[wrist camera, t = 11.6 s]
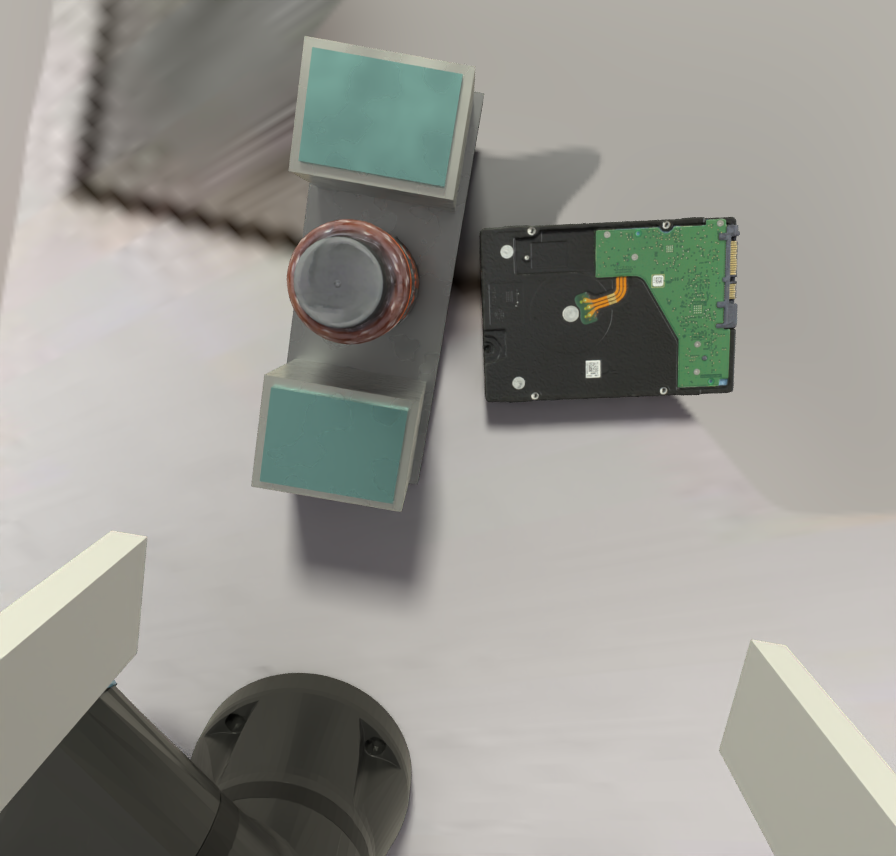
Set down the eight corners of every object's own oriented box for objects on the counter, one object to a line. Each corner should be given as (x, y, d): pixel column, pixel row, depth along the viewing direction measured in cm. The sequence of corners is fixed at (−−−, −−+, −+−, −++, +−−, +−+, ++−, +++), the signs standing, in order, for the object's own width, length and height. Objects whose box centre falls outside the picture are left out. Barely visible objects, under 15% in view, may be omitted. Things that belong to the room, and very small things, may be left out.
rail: (418, 477, 47) (408, 525, 38) (280, 454, 47) (238, 495, 38) (483, 99, 42) (488, 54, 33) (329, 71, 42) (293, 19, 33)
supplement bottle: (429, 322, 43) (417, 340, 32) (332, 340, 43) (287, 364, 32) (410, 220, 42) (391, 201, 31) (310, 239, 42) (255, 228, 31)
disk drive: (485, 398, 46) (721, 386, 46) (485, 406, 43) (737, 394, 43) (477, 230, 44) (725, 214, 43) (477, 227, 41) (742, 211, 41)
